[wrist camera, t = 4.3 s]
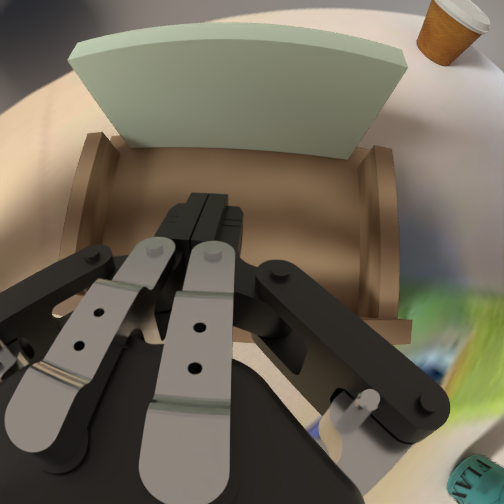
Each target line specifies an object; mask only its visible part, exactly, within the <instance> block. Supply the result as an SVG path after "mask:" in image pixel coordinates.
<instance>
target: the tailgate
mask: <svg viewBox="0 0 504 504" xmlns="http://www.w3.org/2000/svg"><path fill="white" fill-rule="evenodd" d="M68 62H69V63H70V65H71V66H72V68H73V69H74V71H75V72H76V73H77V75H78V76H79V78H80V79H81V81H82V82H83V84H84V85H85V86H86V88H87V89H88V91H89V92H90V94H91V95H92V96H93V98H94V99H95V101H96V102H97V104H98V105H99V106H100V108H101V109H102V111H103V112H104V113H105V115H106V116H107V118H108V119H109V120H110V122H111V123H112V124H113V126H114V127H115V129H116V130H117V131H118V133H119V134H120V135H121V137H122V138H123V140H124V141H125V142H126V144H127V145H128V146H129V148H147V147H204V148H231V149H249V150H264V151H276V152H287V153H297V154H306V155H315V156H323V157H331V158H338V159H345V160H348V158H349V157H350V156H351V154H352V153H353V151H354V150H355V148H356V147H357V145H358V144H359V142H360V141H361V139H362V138H363V136H364V135H365V133H366V132H367V130H368V129H369V127H370V126H371V124H372V123H373V121H374V120H375V118H376V116H377V115H378V113H379V112H380V110H381V109H382V107H383V106H384V104H385V103H386V101H387V100H388V98H389V97H390V95H391V93H392V92H393V90H394V89H395V87H396V86H397V84H398V83H399V81H400V79H401V78H402V76H403V75H404V73H405V72H406V70H407V68H408V66H407V64H406V61H405V58H404V55H403V52H402V50H401V49H398V48H395V47H392V46H388V45H385V44H381V43H378V42H374V41H370V40H366V39H362V38H358V37H353V36H349V35H344V34H339V33H334V32H329V31H323V30H317V29H310V28H303V27H295V26H286V25H275V24H261V23H196V24H195V23H194V24H180V25H169V26H160V27H153V28H145V29H139V30H133V31H127V32H122V33H117V34H112V35H108V36H103V37H99V38H94V39H90V40H87V41H83V42H79V43H77V45H76V46H75V48H74V50H73V51H72V53H71V55H70V57H69V58H68Z"/></svg>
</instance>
